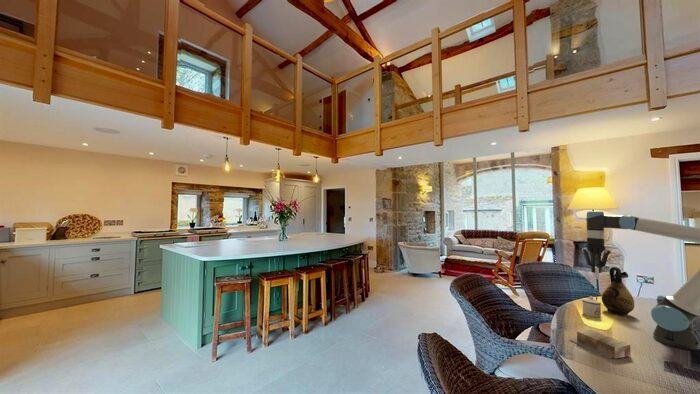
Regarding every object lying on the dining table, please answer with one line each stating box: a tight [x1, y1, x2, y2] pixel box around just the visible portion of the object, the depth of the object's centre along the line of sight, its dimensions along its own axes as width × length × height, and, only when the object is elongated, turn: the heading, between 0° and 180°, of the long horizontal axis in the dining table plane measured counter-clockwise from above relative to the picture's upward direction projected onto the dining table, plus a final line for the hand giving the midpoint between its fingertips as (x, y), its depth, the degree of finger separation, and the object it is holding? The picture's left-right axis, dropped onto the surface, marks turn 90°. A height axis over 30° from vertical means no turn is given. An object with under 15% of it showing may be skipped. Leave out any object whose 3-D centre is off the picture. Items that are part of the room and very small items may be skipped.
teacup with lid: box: [581, 296, 602, 318], centre depth 173 cm, size 12×9×12 cm
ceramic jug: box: [601, 266, 635, 317], centre depth 176 cm, size 17×15×30 cm
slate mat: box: [569, 337, 614, 359], centre depth 131 cm, size 17×14×1 cm
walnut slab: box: [576, 329, 632, 359], centre depth 129 cm, size 5×10×16 cm
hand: (596, 278), depth 153 cm, fingers closed
